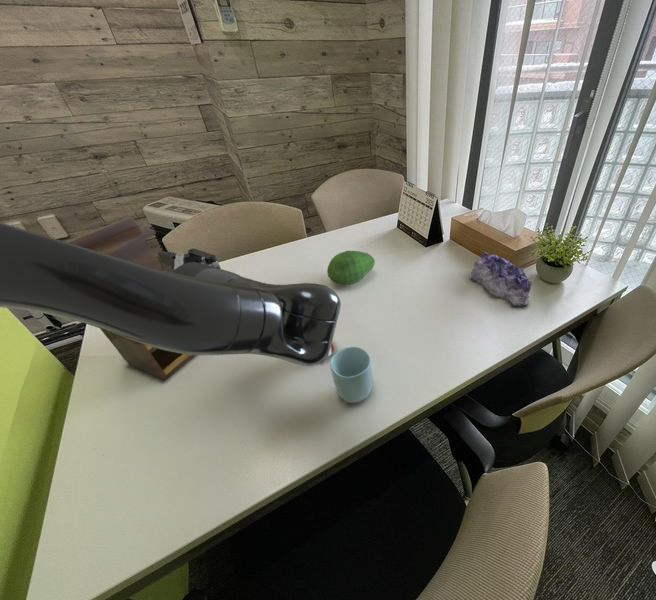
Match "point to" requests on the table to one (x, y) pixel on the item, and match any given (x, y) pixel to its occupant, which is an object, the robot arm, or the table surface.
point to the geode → (502, 279)
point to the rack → (132, 246)
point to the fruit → (350, 267)
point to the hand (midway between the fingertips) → (136, 270)
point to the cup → (352, 374)
